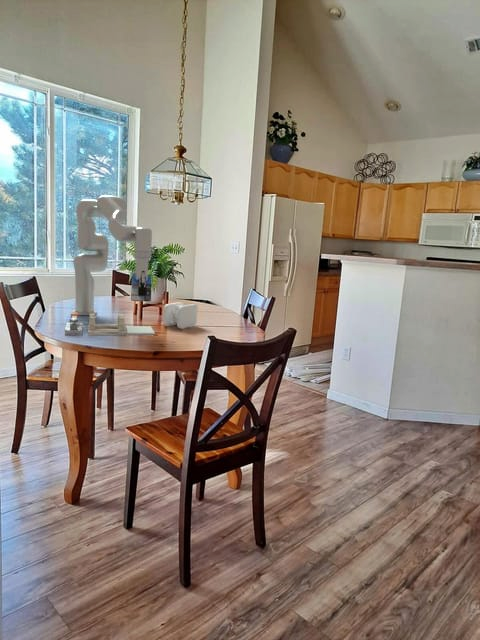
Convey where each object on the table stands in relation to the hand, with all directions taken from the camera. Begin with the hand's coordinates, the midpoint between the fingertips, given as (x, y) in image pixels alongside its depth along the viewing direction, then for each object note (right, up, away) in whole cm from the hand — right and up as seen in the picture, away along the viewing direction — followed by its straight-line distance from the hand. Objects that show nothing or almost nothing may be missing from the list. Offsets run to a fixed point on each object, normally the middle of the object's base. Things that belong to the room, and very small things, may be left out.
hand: (141, 294), depth 208 cm
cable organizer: (+15, -15, +20) cm, 30 cm away
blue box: (0, -3, +1) cm, 3 cm away
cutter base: (-29, -17, -6) cm, 34 cm away
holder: (-16, -17, -1) cm, 23 cm away
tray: (-1, -17, +3) cm, 17 cm away
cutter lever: (-29, -14, -5) cm, 33 cm away
